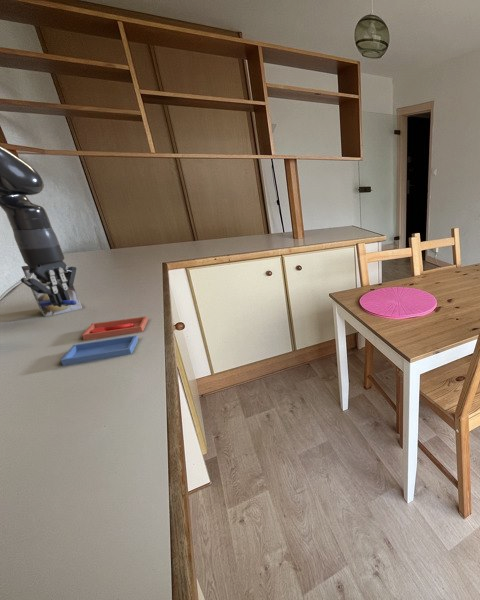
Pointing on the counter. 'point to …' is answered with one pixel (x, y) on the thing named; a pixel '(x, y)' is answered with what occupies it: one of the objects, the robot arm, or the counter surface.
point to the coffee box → (52, 308)
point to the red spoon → (112, 328)
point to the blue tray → (100, 350)
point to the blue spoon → (48, 302)
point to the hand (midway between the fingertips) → (62, 303)
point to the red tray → (138, 327)
